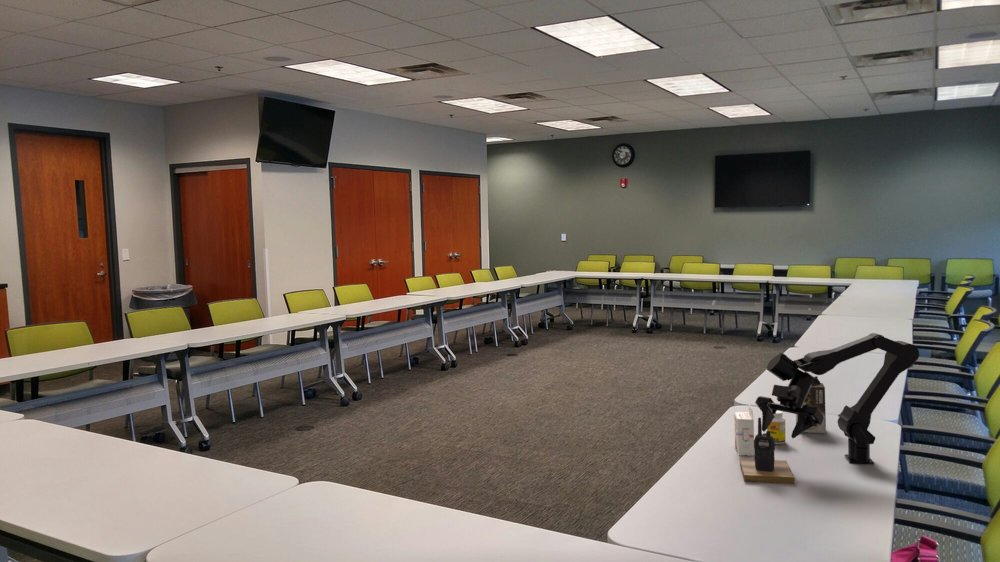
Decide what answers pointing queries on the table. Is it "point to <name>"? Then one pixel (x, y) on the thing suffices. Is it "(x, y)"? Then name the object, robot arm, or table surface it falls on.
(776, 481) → the tan flat wooden block
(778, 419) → the supplement bottle
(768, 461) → the two-way radio
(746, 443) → the ink cartridge box
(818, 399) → the coffee box
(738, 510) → the table surface
